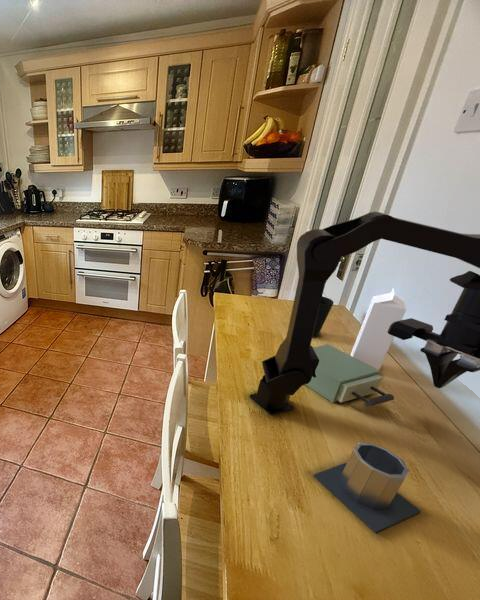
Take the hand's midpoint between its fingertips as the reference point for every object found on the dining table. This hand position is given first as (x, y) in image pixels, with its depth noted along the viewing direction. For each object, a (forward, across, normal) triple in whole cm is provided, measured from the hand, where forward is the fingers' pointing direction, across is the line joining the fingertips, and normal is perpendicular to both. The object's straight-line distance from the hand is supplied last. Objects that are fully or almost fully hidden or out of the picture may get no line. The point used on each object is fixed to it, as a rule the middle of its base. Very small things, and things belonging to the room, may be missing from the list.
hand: (438, 387), depth 60 cm
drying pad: (+12, -6, +23) cm, 27 cm away
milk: (+12, +20, -16) cm, 28 cm away
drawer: (+11, +14, 0) cm, 18 cm away
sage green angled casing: (+12, +18, 0) cm, 22 cm away
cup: (+12, +38, -18) cm, 44 cm away
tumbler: (+12, -6, +23) cm, 26 cm away
